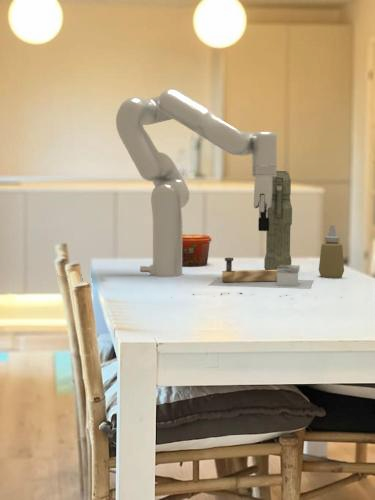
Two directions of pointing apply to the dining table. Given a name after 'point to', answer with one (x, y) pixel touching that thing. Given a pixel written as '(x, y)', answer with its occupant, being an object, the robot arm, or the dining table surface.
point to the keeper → (287, 275)
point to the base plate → (262, 284)
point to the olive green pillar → (279, 223)
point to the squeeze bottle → (331, 256)
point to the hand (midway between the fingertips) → (263, 230)
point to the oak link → (247, 274)
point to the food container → (195, 250)
